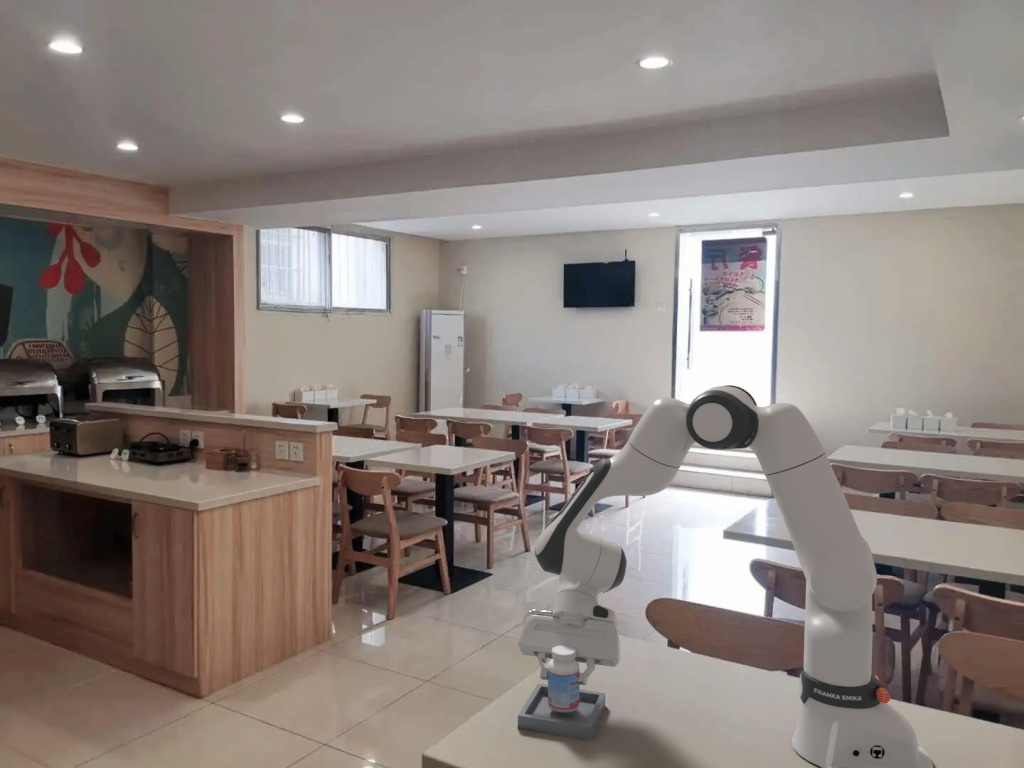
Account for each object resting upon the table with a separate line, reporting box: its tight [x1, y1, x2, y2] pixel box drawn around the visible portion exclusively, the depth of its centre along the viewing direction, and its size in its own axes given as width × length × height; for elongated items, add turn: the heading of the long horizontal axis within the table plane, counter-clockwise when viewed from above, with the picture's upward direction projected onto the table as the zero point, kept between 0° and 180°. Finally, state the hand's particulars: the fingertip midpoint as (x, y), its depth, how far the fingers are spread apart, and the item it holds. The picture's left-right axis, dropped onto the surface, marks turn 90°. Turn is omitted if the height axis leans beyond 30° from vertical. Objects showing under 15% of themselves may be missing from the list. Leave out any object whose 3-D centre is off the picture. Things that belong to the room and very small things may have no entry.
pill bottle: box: [547, 645, 580, 713], centre depth 147 cm, size 6×6×11 cm
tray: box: [517, 683, 606, 741], centre depth 147 cm, size 14×14×2 cm
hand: (562, 681), depth 146 cm, fingers open, 6 cm apart
